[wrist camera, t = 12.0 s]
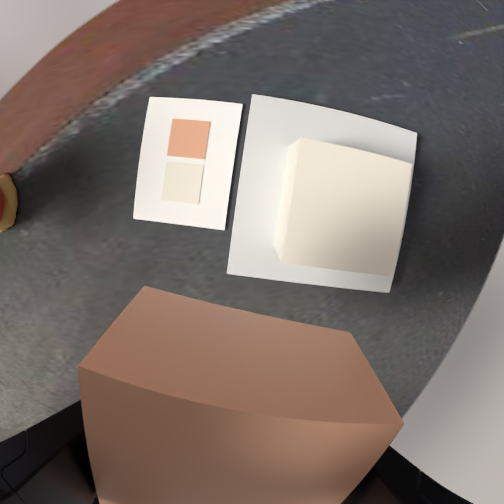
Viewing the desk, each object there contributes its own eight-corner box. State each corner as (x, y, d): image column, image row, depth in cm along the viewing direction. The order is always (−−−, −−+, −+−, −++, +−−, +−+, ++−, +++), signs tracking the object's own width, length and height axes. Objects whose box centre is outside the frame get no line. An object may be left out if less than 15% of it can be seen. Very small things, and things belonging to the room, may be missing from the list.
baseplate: (383, 288, 21) (389, 292, 20) (227, 269, 20) (226, 273, 19) (410, 134, 18) (417, 133, 17) (251, 98, 18) (252, 94, 17)
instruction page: (224, 230, 20) (224, 230, 19) (133, 218, 19) (132, 218, 19) (242, 104, 18) (242, 103, 18) (150, 97, 18) (149, 96, 17)
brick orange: (288, 459, 10) (299, 543, 6) (132, 429, 10) (101, 511, 6) (349, 331, 9) (404, 423, 5) (144, 285, 8) (78, 365, 4)
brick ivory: (365, 258, 19) (391, 276, 15) (273, 245, 19) (281, 262, 15) (381, 166, 18) (412, 163, 14) (288, 146, 18) (300, 137, 14)
